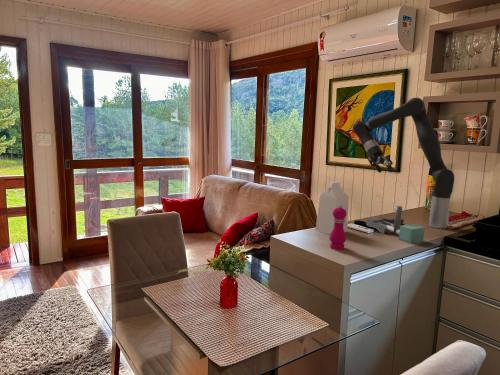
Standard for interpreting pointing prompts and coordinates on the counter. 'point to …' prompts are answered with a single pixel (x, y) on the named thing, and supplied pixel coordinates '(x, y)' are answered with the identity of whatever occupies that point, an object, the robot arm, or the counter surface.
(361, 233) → the counter surface
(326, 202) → the milk
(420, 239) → the teal block
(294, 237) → the counter surface
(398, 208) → the grey piece
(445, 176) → the robot arm
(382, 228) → the grey grooved block
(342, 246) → the pepper mill
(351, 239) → the counter surface
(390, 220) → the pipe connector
